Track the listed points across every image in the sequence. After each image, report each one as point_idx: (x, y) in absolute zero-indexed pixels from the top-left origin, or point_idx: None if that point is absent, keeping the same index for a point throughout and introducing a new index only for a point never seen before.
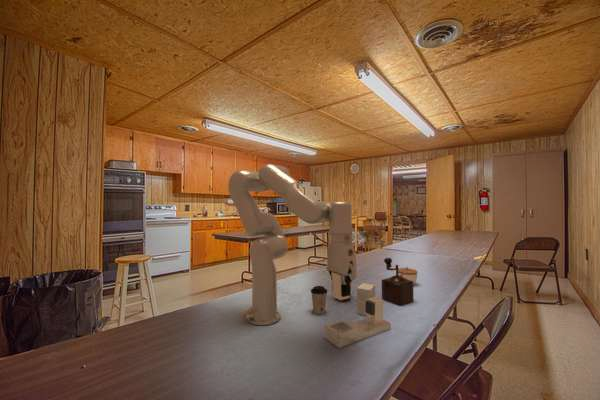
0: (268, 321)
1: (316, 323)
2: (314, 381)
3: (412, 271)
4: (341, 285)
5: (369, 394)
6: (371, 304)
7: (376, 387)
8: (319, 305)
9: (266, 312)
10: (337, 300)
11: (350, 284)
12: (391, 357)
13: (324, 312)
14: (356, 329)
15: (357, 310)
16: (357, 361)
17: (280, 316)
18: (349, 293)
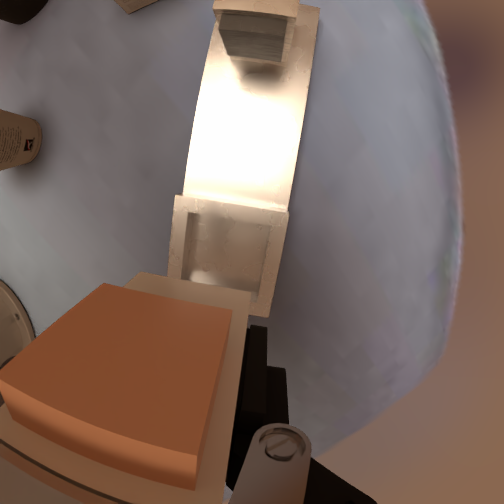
0: (27, 344)
1: (80, 219)
2: (317, 428)
3: None
4: (227, 471)
5: (426, 375)
6: (277, 36)
7: (433, 351)
8: (14, 156)
9: (8, 357)
10: (23, 22)
11: (226, 334)
12: (424, 210)
13: (39, 126)
14: (287, 217)
15: (125, 9)
16: (358, 311)
17: (9, 294)
18: (265, 339)
